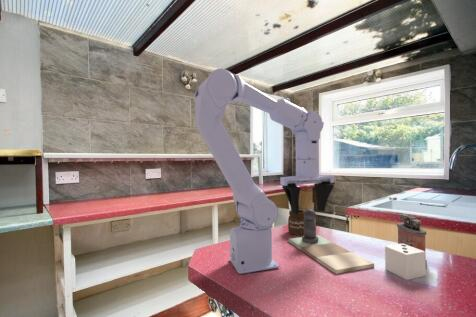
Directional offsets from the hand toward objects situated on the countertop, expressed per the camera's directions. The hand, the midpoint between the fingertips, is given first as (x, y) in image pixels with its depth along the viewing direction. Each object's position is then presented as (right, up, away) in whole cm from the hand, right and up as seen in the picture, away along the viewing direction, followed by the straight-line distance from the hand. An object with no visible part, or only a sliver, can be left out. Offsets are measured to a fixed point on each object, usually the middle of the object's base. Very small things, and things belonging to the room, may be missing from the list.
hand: (308, 212), depth 64 cm
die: (+17, -10, -12) cm, 23 cm away
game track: (+4, -10, 0) cm, 11 cm away
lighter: (+23, -10, -5) cm, 26 cm away
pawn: (+2, -10, +6) cm, 12 cm away
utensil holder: (+1, -11, +17) cm, 20 cm away
